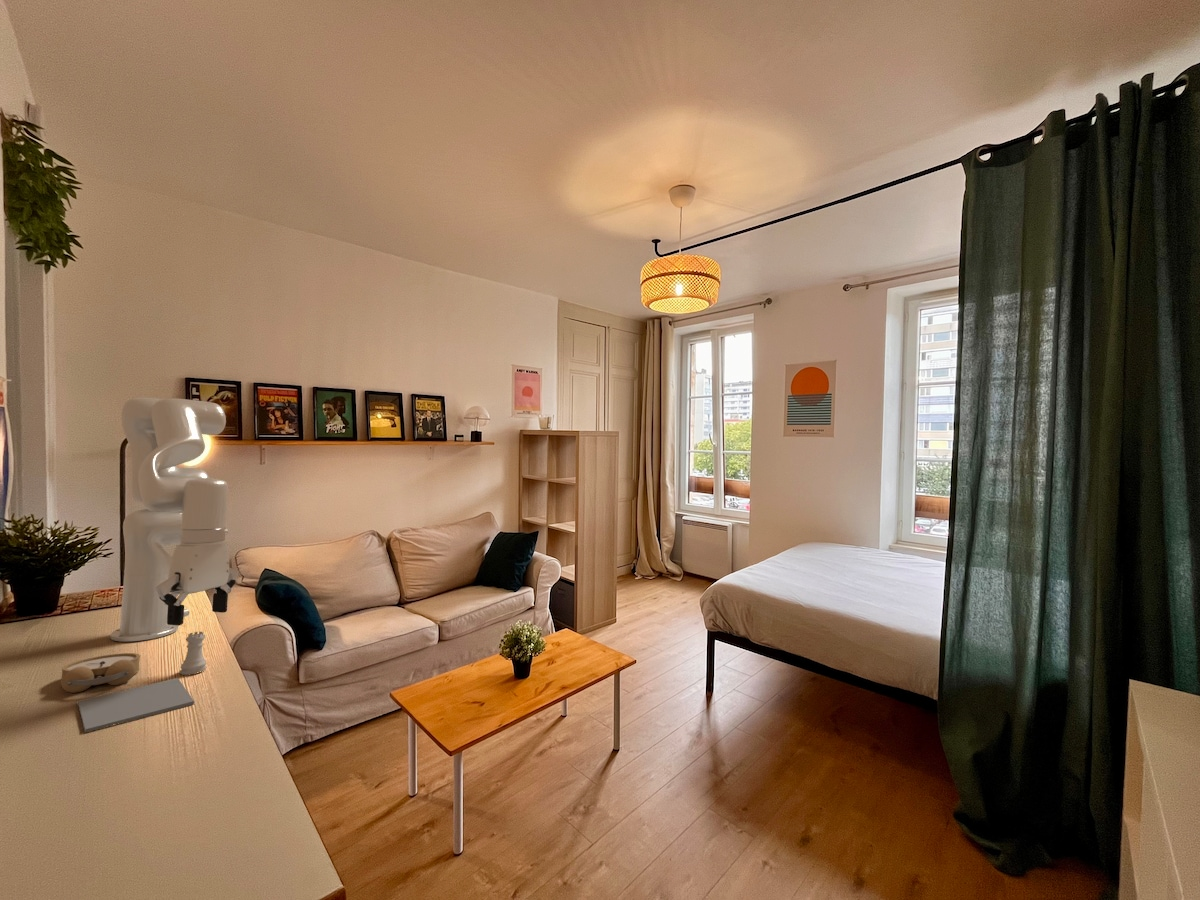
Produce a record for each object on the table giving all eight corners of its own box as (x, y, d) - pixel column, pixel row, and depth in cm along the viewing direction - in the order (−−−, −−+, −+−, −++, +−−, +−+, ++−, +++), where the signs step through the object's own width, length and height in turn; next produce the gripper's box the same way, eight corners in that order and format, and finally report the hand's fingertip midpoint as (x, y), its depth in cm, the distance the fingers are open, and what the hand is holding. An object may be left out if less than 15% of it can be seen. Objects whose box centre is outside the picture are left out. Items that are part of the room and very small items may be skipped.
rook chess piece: (176, 677, 102) (179, 638, 102) (182, 669, 106) (185, 631, 106) (203, 674, 104) (206, 635, 104) (208, 666, 108) (211, 629, 108)
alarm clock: (140, 649, 109) (139, 658, 98) (138, 673, 108) (137, 684, 97) (66, 661, 101) (56, 671, 90) (63, 686, 100) (53, 700, 89)
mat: (77, 704, 90) (77, 700, 90) (177, 680, 100) (177, 677, 100) (84, 733, 81) (85, 729, 81) (193, 704, 91) (194, 701, 91)
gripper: (225, 531, 115) (220, 606, 114) (145, 541, 98) (139, 628, 97) (253, 533, 114) (248, 608, 113) (177, 542, 97) (171, 631, 96)
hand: (198, 617), depth 105 cm, fingers open, 9 cm apart
